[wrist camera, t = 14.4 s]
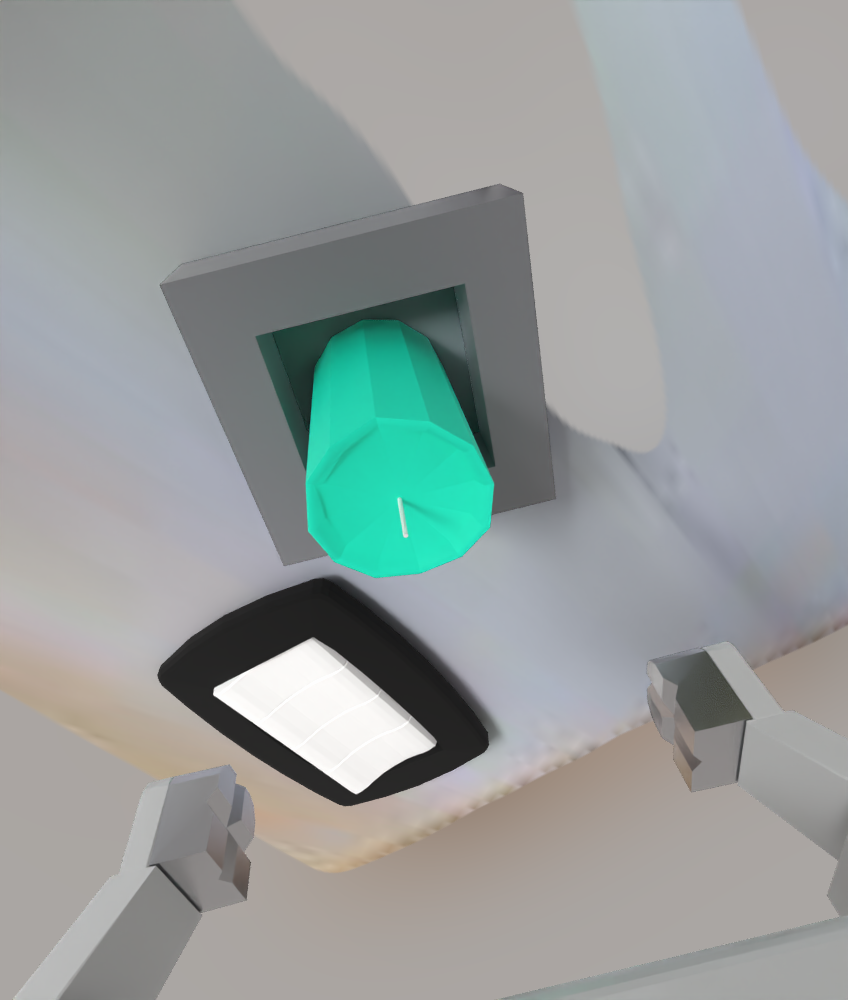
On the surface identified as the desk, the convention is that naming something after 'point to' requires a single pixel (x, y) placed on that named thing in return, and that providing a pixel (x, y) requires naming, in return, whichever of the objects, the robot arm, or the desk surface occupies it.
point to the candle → (391, 456)
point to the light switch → (325, 695)
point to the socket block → (355, 286)
